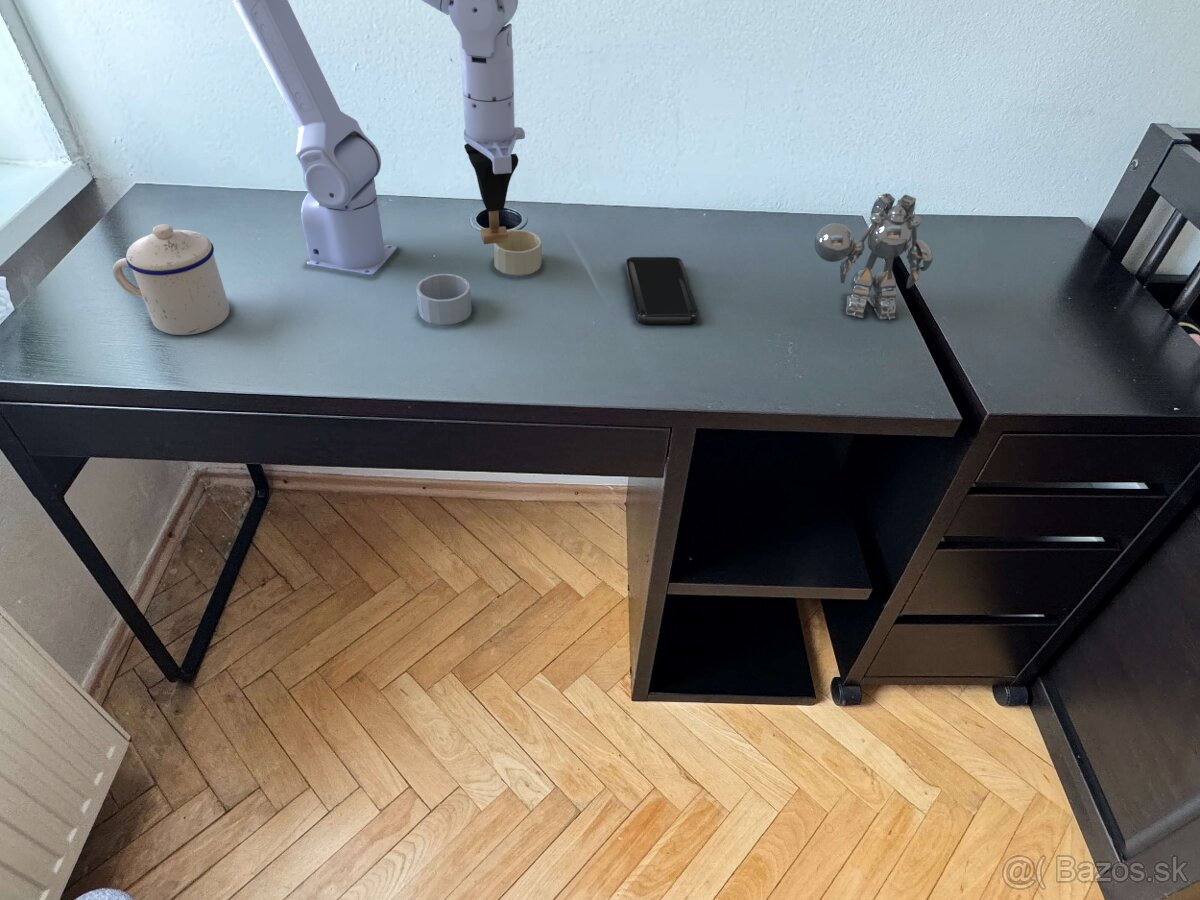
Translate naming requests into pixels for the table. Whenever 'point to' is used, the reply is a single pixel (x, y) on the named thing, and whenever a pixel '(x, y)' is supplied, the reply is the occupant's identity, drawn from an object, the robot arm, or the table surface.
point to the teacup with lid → (176, 280)
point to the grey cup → (444, 299)
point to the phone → (660, 291)
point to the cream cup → (518, 253)
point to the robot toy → (877, 253)
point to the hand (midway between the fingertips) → (493, 206)
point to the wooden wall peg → (494, 230)
